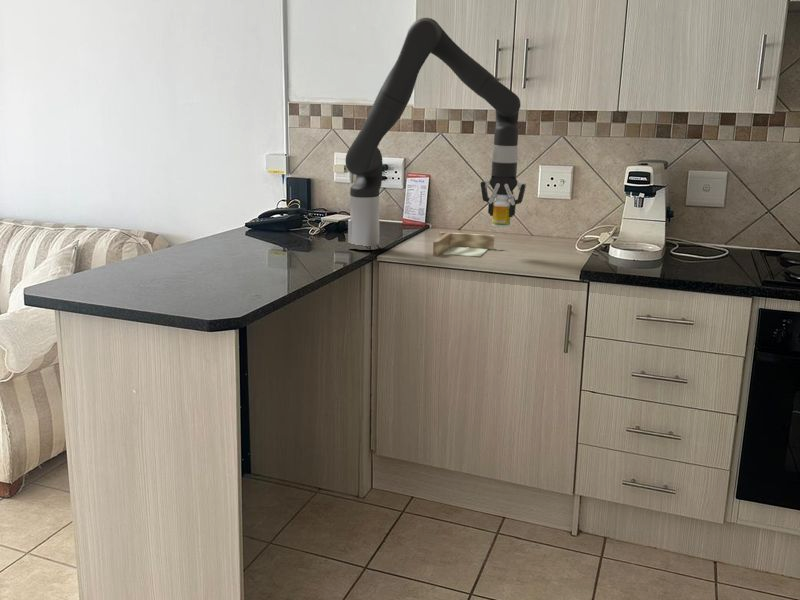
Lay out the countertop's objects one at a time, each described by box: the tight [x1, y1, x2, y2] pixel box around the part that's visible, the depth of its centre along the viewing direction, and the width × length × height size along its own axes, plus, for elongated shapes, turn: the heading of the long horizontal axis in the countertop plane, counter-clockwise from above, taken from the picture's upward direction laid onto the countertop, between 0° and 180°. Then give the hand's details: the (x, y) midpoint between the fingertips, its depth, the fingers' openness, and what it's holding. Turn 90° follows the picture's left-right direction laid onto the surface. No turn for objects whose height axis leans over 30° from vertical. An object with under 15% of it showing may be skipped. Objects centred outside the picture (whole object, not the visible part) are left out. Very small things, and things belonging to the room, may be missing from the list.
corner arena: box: [432, 231, 495, 258], centre depth 253 cm, size 18×17×4 cm
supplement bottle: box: [491, 194, 511, 228], centre depth 242 cm, size 5×5×10 cm
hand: (501, 216), depth 243 cm, fingers closed on supplement bottle, 5 cm apart
